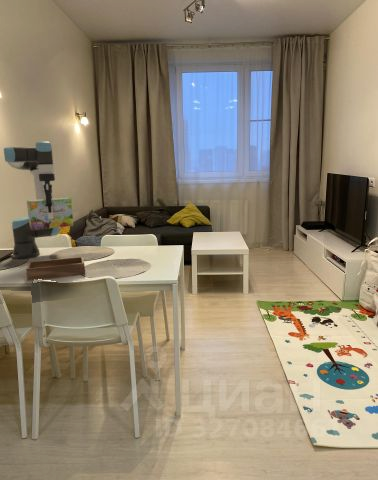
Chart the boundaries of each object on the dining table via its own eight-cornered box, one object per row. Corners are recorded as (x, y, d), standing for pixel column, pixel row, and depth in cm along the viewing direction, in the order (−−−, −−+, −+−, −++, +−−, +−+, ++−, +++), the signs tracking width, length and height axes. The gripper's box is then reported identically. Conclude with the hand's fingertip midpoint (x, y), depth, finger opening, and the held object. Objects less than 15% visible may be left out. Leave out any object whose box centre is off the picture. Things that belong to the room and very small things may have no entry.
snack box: (32, 230, 184) (28, 200, 181) (29, 229, 189) (26, 200, 186) (74, 225, 196) (71, 197, 193) (70, 224, 200) (67, 197, 198)
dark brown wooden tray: (30, 272, 190) (28, 261, 189) (84, 266, 198) (83, 256, 197) (27, 280, 177) (26, 269, 176) (85, 274, 185) (84, 263, 184)
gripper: (39, 173, 195) (44, 215, 199) (37, 173, 176) (42, 221, 181) (54, 172, 197) (59, 215, 202) (53, 173, 178) (58, 219, 183)
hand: (51, 217), depth 191 cm, fingers closed on snack box, 7 cm apart
